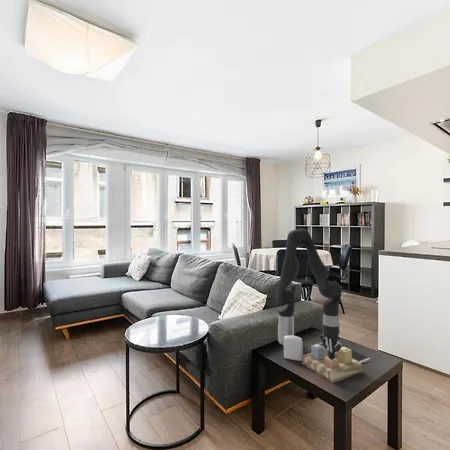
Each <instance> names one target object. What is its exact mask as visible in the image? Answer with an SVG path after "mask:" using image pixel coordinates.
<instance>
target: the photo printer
mask: <svg viewBox="0 0 450 450" xmlns="http://www.w3.org/2000/svg"><path fill="white" fill-rule="evenodd" d="M303 344H304V343H303V339H302V338H301V337H300V336H297V335H294V336H292V335H288V336H285V337H284V345H283V358H284V359H287V360H293V361H298V362H302V356H303V355H304V346H303Z"/></svg>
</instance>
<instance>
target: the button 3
mask: <svg viewBox="0 0 450 450" xmlns="http://www.w3.org/2000/svg"><path fill="white" fill-rule="evenodd" d="M324 361H325V365H326V366H327V367H329V368H331V369H334V368H337V367H339V360H337V359H335V358H334V359H332V360H331V359H329V357H328V358H324Z"/></svg>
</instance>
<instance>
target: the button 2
mask: <svg viewBox="0 0 450 450" xmlns="http://www.w3.org/2000/svg"><path fill="white" fill-rule="evenodd" d="M325 344H326V343H325ZM324 353H325V354H326V355H328V350H327V348H325V347H324ZM335 355H337V352H335Z"/></svg>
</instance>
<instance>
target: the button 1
mask: <svg viewBox="0 0 450 450" xmlns="http://www.w3.org/2000/svg"><path fill="white" fill-rule="evenodd" d="M319 344H320V343H316V344H312V345H310V353H311V357H312V358H314V359H315V360H317V361H319V360H322V359H324V358H325V355H324V347H323V346H321V345H319Z"/></svg>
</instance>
